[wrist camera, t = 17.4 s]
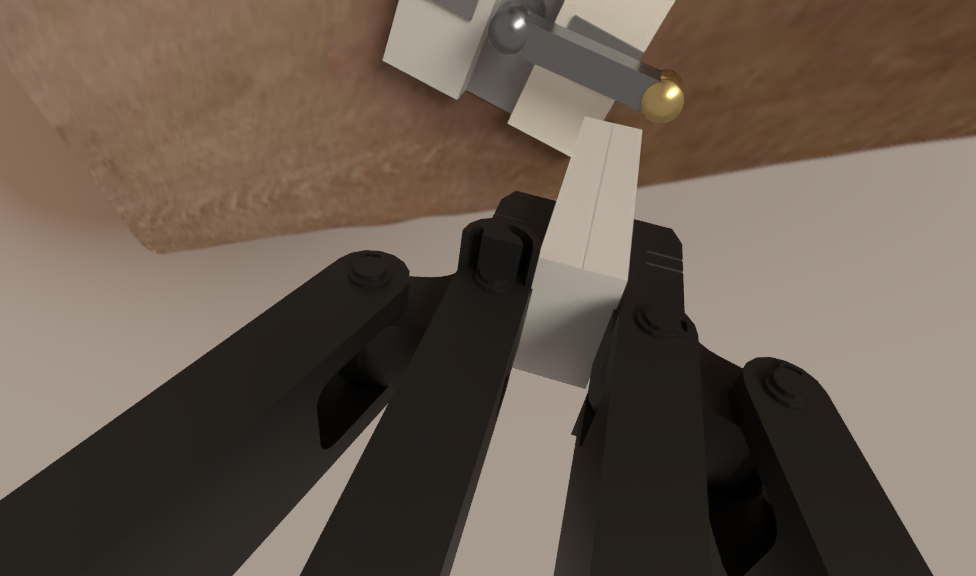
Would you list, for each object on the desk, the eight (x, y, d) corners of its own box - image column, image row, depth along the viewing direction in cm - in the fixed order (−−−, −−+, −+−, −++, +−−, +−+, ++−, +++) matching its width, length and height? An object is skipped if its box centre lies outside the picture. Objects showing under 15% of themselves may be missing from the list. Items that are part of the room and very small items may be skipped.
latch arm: (506, 22, 38) (482, 45, 33) (518, -15, 36) (494, 4, 31) (669, 95, 38) (669, 129, 33) (688, 61, 36) (692, 92, 31)
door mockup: (395, 51, 41) (380, 61, 39) (460, -174, 32) (445, -176, 30) (582, 150, 42) (577, 165, 40) (695, -41, 33) (697, -34, 31)
